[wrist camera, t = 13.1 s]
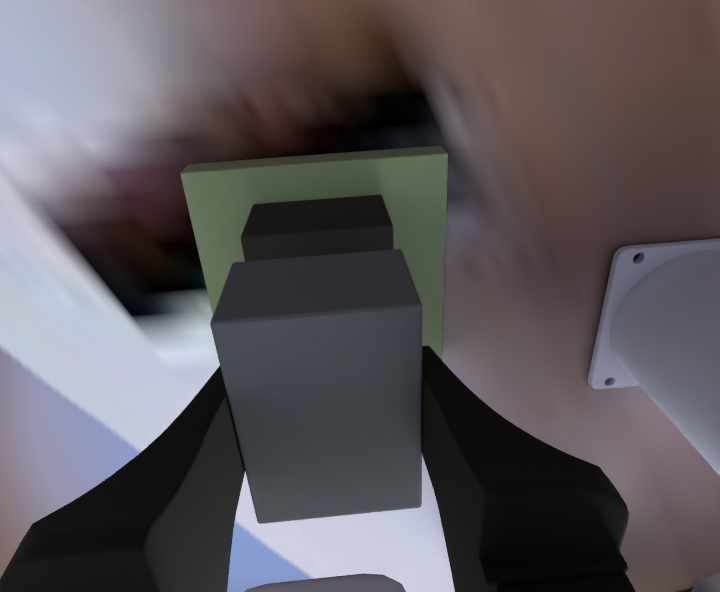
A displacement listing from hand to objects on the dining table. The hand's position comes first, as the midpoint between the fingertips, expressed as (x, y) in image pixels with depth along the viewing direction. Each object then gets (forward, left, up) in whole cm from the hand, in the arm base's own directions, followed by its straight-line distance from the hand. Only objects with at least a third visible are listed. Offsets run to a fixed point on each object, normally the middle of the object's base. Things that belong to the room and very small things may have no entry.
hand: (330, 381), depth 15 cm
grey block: (0, 0, -1) cm, 1 cm away
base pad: (0, 0, -8) cm, 8 cm away
